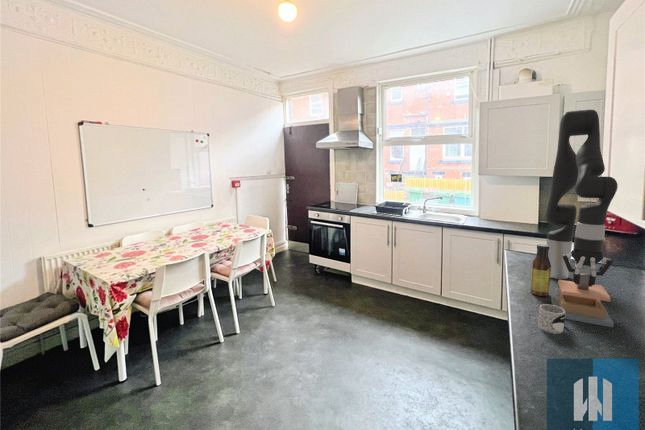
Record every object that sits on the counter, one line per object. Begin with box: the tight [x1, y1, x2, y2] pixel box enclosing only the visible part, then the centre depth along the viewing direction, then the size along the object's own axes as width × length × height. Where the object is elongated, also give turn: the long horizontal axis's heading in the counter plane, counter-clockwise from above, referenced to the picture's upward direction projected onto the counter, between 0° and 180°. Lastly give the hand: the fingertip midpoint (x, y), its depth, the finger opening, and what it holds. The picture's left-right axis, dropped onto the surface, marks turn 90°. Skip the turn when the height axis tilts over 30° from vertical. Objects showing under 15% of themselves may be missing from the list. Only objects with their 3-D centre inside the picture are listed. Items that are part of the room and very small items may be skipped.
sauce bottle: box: [530, 243, 551, 297], centre depth 128 cm, size 7×6×20 cm
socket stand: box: [550, 291, 615, 328], centre depth 113 cm, size 15×15×4 cm
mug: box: [537, 303, 566, 335], centre depth 104 cm, size 10×7×7 cm
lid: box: [557, 272, 612, 302], centre depth 112 cm, size 12×12×6 cm
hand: (583, 284), depth 112 cm, fingers closed on lid, 3 cm apart
